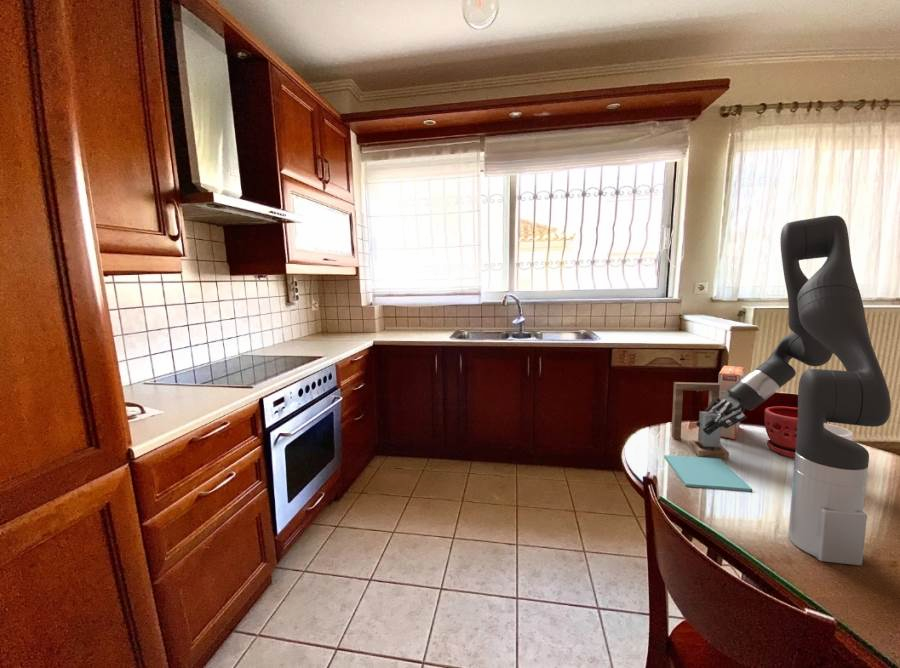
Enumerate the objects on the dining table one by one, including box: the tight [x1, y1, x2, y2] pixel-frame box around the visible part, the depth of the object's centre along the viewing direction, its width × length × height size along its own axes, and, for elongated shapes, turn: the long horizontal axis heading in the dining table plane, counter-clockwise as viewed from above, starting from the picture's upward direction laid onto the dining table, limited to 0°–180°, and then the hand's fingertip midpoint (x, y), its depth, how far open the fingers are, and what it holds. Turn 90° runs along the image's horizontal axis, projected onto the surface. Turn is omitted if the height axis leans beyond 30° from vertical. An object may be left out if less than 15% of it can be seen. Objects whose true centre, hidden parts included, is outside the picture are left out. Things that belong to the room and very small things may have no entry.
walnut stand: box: [671, 381, 730, 460], centre depth 112 cm, size 15×12×18 cm
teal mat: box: [663, 454, 753, 492], centre depth 98 cm, size 16×14×1 cm
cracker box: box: [717, 365, 745, 441], centre depth 123 cm, size 14×6×21 cm, turn 139°
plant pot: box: [764, 406, 828, 459], centre depth 107 cm, size 13×13×12 cm
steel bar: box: [697, 410, 721, 447], centre depth 108 cm, size 4×4×9 cm
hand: (701, 429), depth 109 cm, fingers closed on steel bar, 4 cm apart
